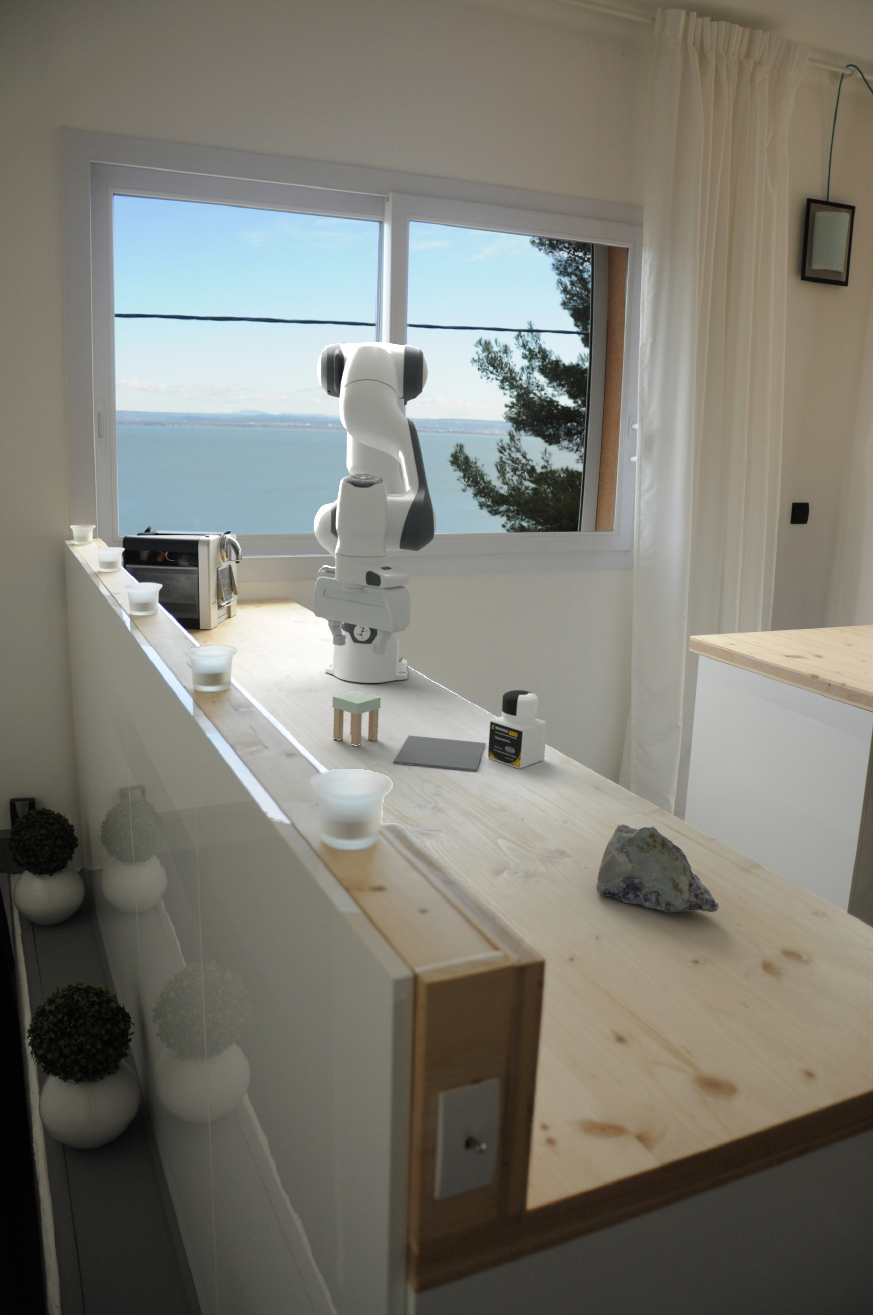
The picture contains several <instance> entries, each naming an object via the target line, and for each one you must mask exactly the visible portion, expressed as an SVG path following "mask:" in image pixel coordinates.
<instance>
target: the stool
mask: <svg viewBox="0 0 873 1315" xmlns="http://www.w3.org/2000/svg"><path fill="white" fill-rule="evenodd" d="M381 700H382V697H381V696H377V695H374V694H370V693H367V692H365V691H363V692H362V691H361V690H360V691H359V690H353V691H349V692H344V693H340V694H336V695H333V696H332V708H333V736H332V737H333V738H335V739H338V740H339V739H344V715H345V714H344V713H345V712H347V713H350V731H349V732H350V736H351V737H350V738H351V740H350V742H351V743H350V745H351V744H354V745H359V744H361V745H362V720H363V717H362V716H363V714H364V713H367V712H368V726H367V727H368V730H367V731H368V732H367V734H368V735H367V740H368V741H370V740H372V741H371V742H375V741H374V740H376V741H378V740H379V739H378V736H379V734H378V733H379V732H378V731H379V709H380V708H381ZM333 738H332V739H333Z"/></svg>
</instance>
